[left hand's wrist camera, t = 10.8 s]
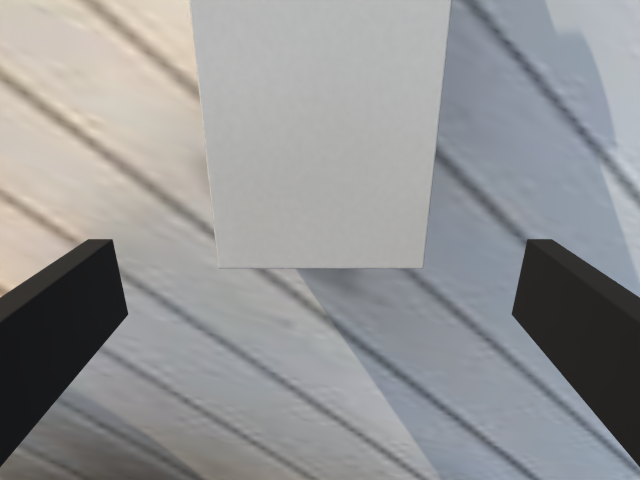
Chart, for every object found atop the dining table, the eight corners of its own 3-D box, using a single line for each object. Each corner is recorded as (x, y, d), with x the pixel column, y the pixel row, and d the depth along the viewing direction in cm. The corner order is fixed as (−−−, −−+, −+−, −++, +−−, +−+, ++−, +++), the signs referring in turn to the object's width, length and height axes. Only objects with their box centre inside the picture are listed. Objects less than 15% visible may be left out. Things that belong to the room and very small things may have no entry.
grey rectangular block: (228, -139, 22) (153, -316, 12) (413, -140, 22) (486, -318, 12) (252, 207, 30) (218, 269, 20) (389, 207, 30) (423, 269, 20)
